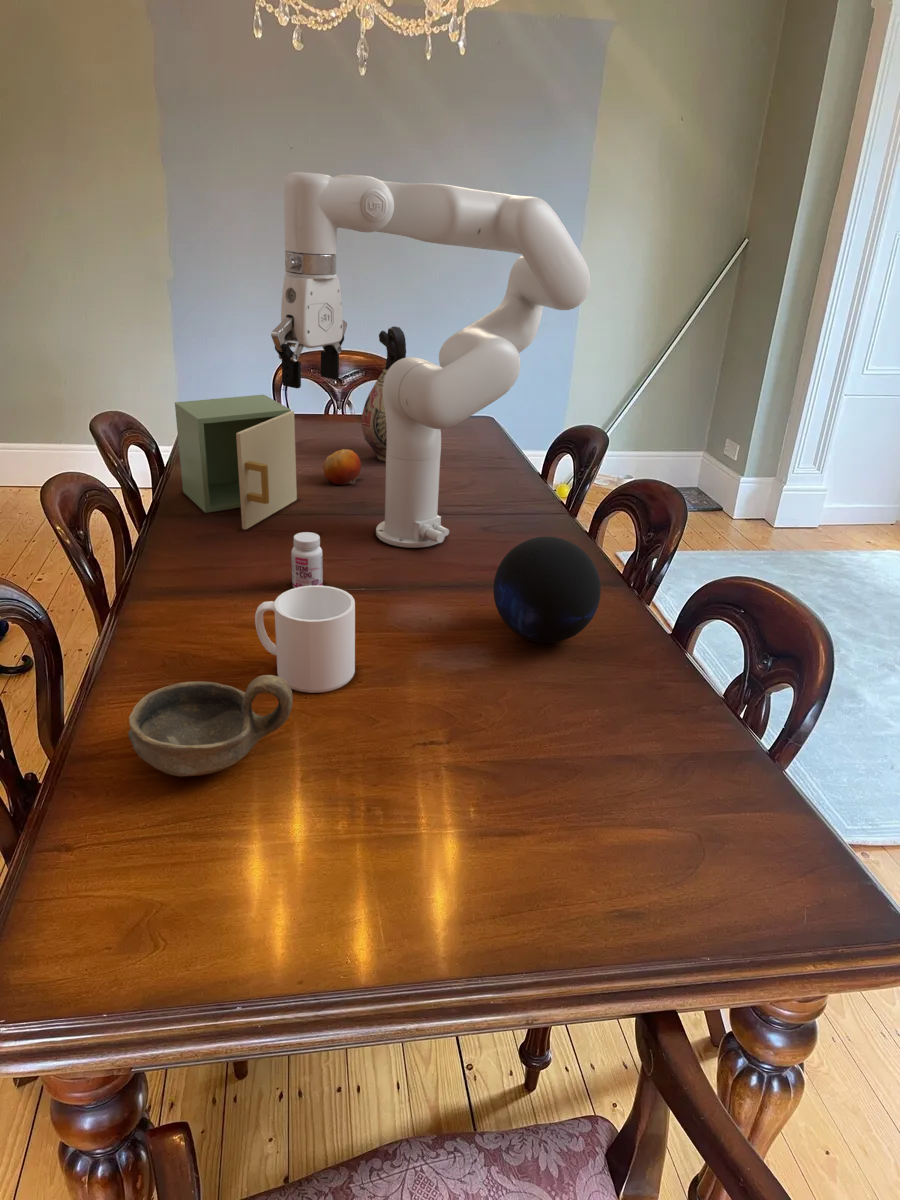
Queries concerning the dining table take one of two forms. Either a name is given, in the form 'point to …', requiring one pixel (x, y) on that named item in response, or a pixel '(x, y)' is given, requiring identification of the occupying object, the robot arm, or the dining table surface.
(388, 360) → the ceramic jug
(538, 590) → the decorative sphere
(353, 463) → the fruit
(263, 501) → the door
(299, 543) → the pill bottle
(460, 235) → the robot arm
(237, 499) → the cupboard
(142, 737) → the bowl
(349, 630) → the mug
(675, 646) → the dining table surface
